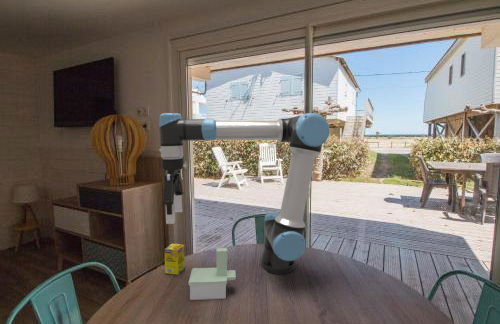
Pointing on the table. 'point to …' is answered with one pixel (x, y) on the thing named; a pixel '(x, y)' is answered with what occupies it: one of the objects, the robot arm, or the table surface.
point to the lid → (213, 272)
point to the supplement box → (174, 259)
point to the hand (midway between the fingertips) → (174, 217)
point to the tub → (208, 291)
